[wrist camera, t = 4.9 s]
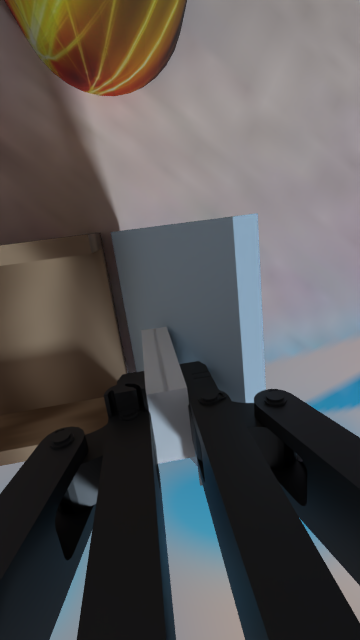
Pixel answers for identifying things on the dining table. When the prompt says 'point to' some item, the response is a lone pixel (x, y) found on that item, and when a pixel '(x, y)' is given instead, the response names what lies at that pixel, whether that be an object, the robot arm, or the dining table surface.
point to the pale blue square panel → (198, 296)
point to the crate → (55, 341)
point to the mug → (102, 39)
